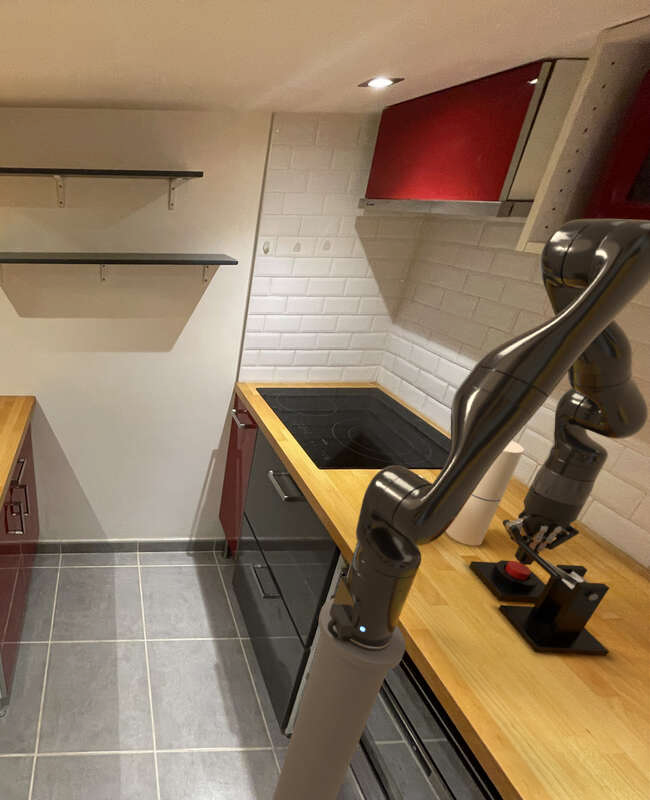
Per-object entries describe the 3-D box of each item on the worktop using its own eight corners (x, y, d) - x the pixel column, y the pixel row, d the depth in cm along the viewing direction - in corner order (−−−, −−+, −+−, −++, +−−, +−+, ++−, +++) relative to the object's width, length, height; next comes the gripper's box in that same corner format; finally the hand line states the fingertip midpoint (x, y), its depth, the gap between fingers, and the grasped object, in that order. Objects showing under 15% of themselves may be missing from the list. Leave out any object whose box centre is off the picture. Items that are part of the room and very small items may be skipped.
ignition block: (498, 601, 88) (505, 588, 87) (468, 567, 97) (474, 554, 95) (556, 604, 88) (563, 591, 87) (521, 569, 96) (527, 557, 95)
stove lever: (548, 580, 72) (561, 571, 72) (511, 545, 80) (523, 536, 79) (598, 610, 74) (611, 601, 74) (557, 573, 82) (569, 565, 81)
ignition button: (513, 580, 89) (516, 573, 89) (500, 566, 93) (503, 560, 92) (532, 581, 89) (535, 574, 89) (518, 567, 93) (521, 561, 92)
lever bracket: (534, 651, 79) (568, 595, 73) (498, 609, 87) (526, 555, 81) (605, 656, 78) (645, 599, 72) (562, 612, 86) (594, 558, 80)
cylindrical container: (438, 528, 108) (473, 438, 98) (459, 522, 110) (496, 434, 100) (467, 548, 102) (508, 454, 91) (489, 541, 104) (532, 449, 94)
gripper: (578, 480, 86) (541, 549, 93) (506, 477, 86) (475, 546, 93) (615, 505, 79) (573, 577, 86) (537, 501, 79) (502, 574, 87)
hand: (522, 561), depth 90 cm, fingers closed
